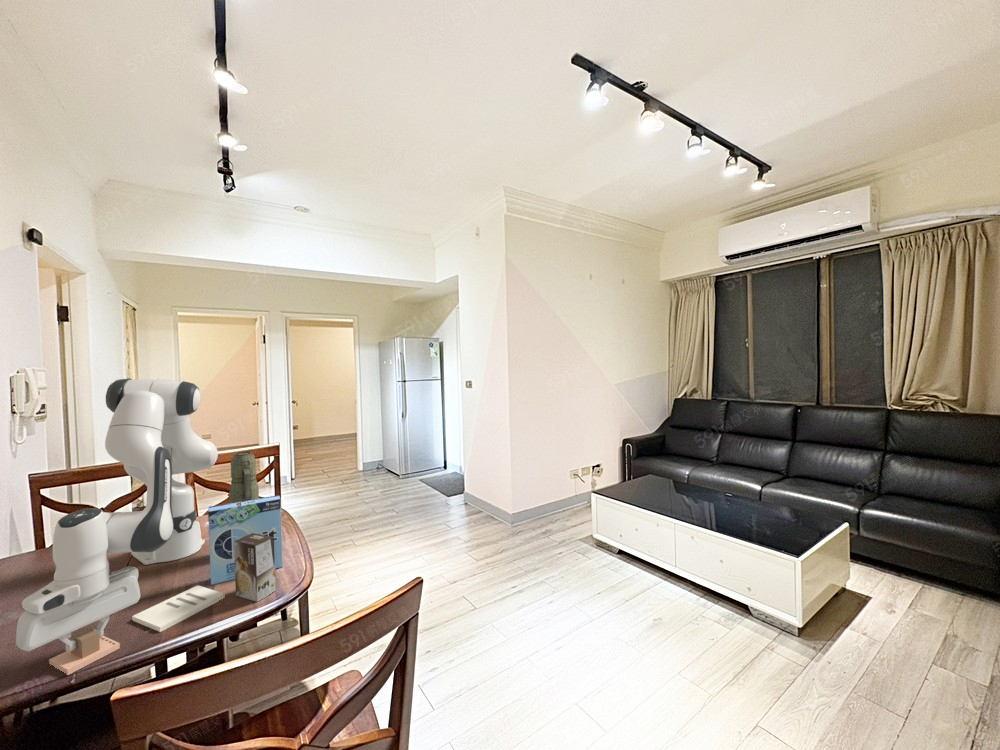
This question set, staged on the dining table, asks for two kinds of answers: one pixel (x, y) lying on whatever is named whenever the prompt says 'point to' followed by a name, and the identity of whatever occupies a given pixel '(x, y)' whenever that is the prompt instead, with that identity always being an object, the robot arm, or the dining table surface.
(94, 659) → the peach base with block
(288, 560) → the dining table surface
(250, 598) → the coffee box
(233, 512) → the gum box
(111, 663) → the dining table surface
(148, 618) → the ticket
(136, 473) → the robot arm
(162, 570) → the dining table surface
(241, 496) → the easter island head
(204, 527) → the dining table surface
